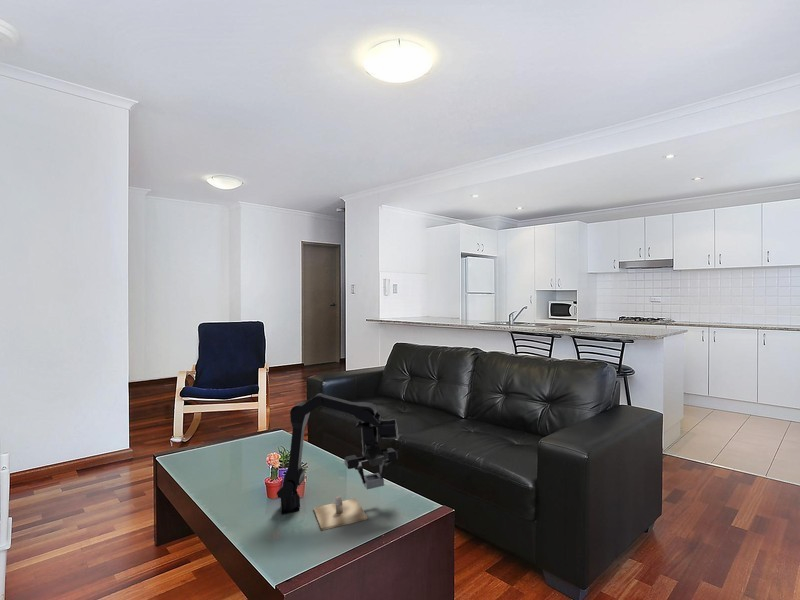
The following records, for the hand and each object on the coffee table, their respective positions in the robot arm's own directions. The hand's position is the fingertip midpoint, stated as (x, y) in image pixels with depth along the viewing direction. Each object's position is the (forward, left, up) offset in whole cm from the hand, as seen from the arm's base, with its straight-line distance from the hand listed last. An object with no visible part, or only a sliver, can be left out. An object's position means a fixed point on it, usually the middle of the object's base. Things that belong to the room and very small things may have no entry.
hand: (372, 481), depth 163 cm
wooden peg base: (-13, +1, -10) cm, 16 cm away
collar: (0, 0, -1) cm, 1 cm away
